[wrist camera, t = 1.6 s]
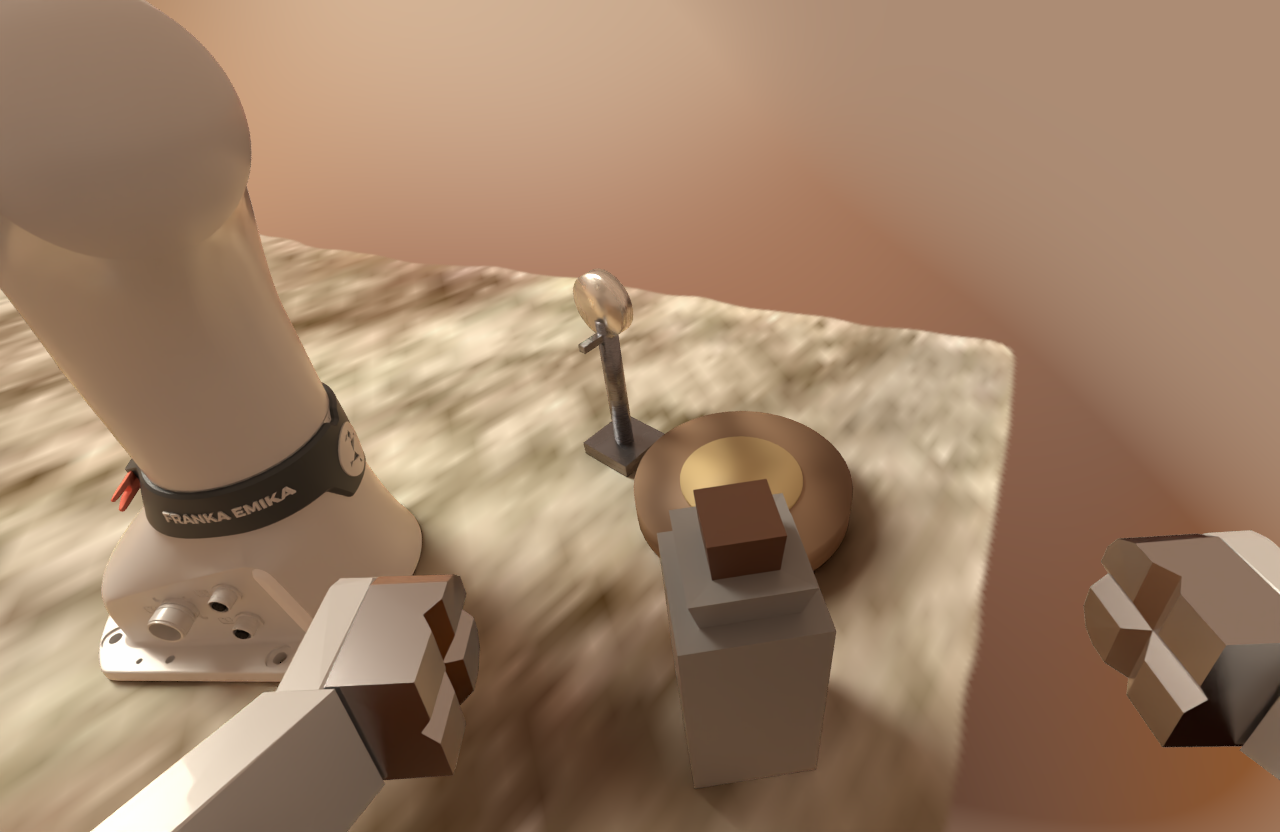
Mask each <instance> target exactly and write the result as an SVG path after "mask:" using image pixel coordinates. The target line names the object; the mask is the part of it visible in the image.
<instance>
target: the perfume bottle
mask: <svg viewBox="0 0 1280 832" xmlns="http://www.w3.org/2000/svg"><path fill="white" fill-rule="evenodd" d="M693 493H694V499H695V504H696V506H695V507H688V508H682V509H675V510H669V515H670V520H671V525H672V530H673V531H668V532H661V533H657V538H658V545H659V553H660V560H661V568H662V575H663V583H664V590H665V597H666V605H667V612H668V620H669V627H670V635H671V642H672V649H673V657H674V664H675V672H676V678H677V685H678V691H679V697H680V703H681V709H682V716H683V722H684V728H685V734H686V740H687V747H688V753H689V759H690V765H691V771H692V778H693V784H694V789H696V788H702V787H709V786H715V785H721V784H727V783H734V782H740V781H746V780H752V779H759V778H765V777H771V776H777V775H783V774H790V773H796V772H802V771H808V770H815V769H816V765H817V758H818V751H819V744H820V738H821V731H822V724H823V717H824V711H825V704H826V697H827V690H828V683H829V677H830V670H831V663H832V656H833V650H834V643H835V636H836V629H835V627H834V624H833V621H832V619H831V616H830V614H829V611H828V608H827V606H826V603H825V601H824V598H823V595H822V593H821V590H820V588H819V585H818V582H817V580H816V577H815V575H814V572H813V569H812V567H811V564H810V562H809V559H808V556H807V554H806V551H805V548H804V546H803V543H802V541H801V538H800V535H799V533H798V530H797V528H796V525H795V522H794V520H793V517H792V515H791V513H790V511H789V509H788V506H787V503H786V501H785V498H784V496H783V493H780V494H773V495H772V492H771V490H770V487H769V484H768V481H767V479H761V480H754V481H748V482H741V483H735V484H728V485H722V486H715V487H709V488H702V489H696V490H693Z"/></svg>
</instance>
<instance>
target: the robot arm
mask: <svg viewBox="0 0 1280 832" xmlns="http://www.w3.org/2000/svg"><path fill="white" fill-rule="evenodd" d="M250 167H251V140H250V132H249V127H248V123H247V119H246V116H245V113H244V109H243V107H242V104H241V102H240V99H239V97H238V95H237V93H236V91H235V89H234V87H233V85H232V83H231V82H230V80H229V78H228V77H227V75H226V73H225V72H224V71H223V69H222V68H221V66H220V65H219V64H218V62H217V61H216V60H215V58H214V57H213V56H212V55H211V54H210V53H209V51H208V50H207V49H206V48H205V47H204V46H203V45H202V44H201V43H200V42H199V41H198V40H197V39H196V38H195V37H194V36H193V35H192V34H191V33H189V32H188V31H187V30H186V29H185V28H183V27H182V26H181V25H180V24H178V23H177V22H176V21H174V20H173V19H172V18H170V17H169V16H167V15H166V14H164V13H163V12H161V11H160V10H159V9H157V8H156V7H154V6H153V5H151V4H150V3H148V2H147V1H145V0H0V289H1V290H2V291H3V292H4V294H5V295H6V296H7V298H8V299H9V300H10V302H11V303H12V304H13V306H14V307H15V308H16V310H17V311H18V312H19V314H20V315H21V316H22V318H23V319H24V320H25V322H26V323H27V324H28V326H29V327H30V328H31V330H32V331H33V332H34V334H35V335H36V337H37V338H38V339H39V341H40V342H41V343H42V345H43V346H44V347H45V349H46V350H47V352H48V353H49V354H50V356H51V357H52V359H53V360H54V361H55V363H56V364H57V366H58V368H59V369H60V370H61V372H62V373H63V374H64V375H65V377H66V378H67V379H68V380H69V382H70V383H71V384H72V385H73V386H74V388H75V389H76V390H77V391H78V393H79V394H80V395H81V396H82V398H83V399H84V400H85V401H86V402H87V404H88V405H89V406H90V407H91V409H92V410H93V411H94V412H95V414H96V415H97V416H98V417H99V418H100V420H101V421H102V422H103V423H104V425H105V426H106V427H107V428H108V430H109V431H110V432H111V433H112V434H113V436H114V437H115V438H116V439H117V441H118V442H119V443H120V444H121V446H122V447H123V448H124V449H125V451H126V452H127V453H128V454H129V455H130V457H131V458H132V459H131V460H130V462H129V463H128V465H127V466H126V468H125V470H126V471H127V472H128V474H127V475H126V477H125V478H124V479H123V481H122V482H121V484H120V485H119V487H118V488H117V490H116V492H115V493H114V495H113V497H112V499H111V501H112V502H115V501H116V500H117V499H118V498H119V497H120V496H121V495H122V493H123V492H124V493H123V495H122V496H121V501H120V506H119V510H120V511H125V510H126V509H127V507H128V506H129V504H130V502H131V501H132V499H133V498H134V496H135V495H136V493H137V492H138V490H139V488H141V494H142V499H143V504H144V506H143V507H142V508H141V510H140V511H139V512H138V514H137V515H136V516H135V518H134V519H133V521H132V522H131V523H130V525H129V526H128V528H127V529H126V531H125V532H124V534H123V535H122V537H121V538H120V540H119V542H118V543H117V545H116V547H115V549H114V551H113V553H112V555H111V557H110V559H109V561H108V563H107V566H106V568H105V572H104V575H103V580H102V587H101V590H102V599H103V602H104V605H105V608H106V610H107V612H108V613H109V617H108V620H107V622H106V625H105V627H104V630H103V634H102V637H101V641H100V646H99V664H100V668H101V671H102V672H103V673H104V675H105V676H106V677H107V678H108V679H110V680H119V681H249V682H280V684H279V686H278V688H277V690H276V691H271V692H263V693H262V694H260V695H259V696H258V697H257V698H255V699H254V700H253V701H252V702H251V703H249V704H248V705H247V706H246V707H244V708H243V709H242V710H241V711H239V712H238V713H237V714H236V715H234V716H233V717H232V718H231V719H229V720H228V721H227V722H226V723H225V724H223V725H222V726H221V727H220V728H218V729H217V730H216V731H215V732H213V733H212V734H211V735H210V736H208V737H207V738H206V739H205V740H203V741H202V742H201V743H200V744H198V745H197V746H196V747H195V748H194V749H192V750H191V751H190V752H189V753H187V754H186V755H185V756H184V757H182V758H181V759H180V760H179V761H177V762H176V763H175V764H174V765H172V766H171V767H170V768H169V769H168V770H166V771H165V772H164V773H163V774H161V775H160V776H159V777H158V778H156V779H155V780H154V781H153V782H151V783H150V784H149V785H148V786H146V787H145V788H144V789H143V790H142V791H140V792H139V793H138V794H137V795H135V796H134V797H133V798H132V799H130V800H129V801H128V802H127V803H125V804H124V805H123V806H122V807H120V808H119V809H118V810H117V811H115V812H114V813H113V814H112V815H111V816H109V817H108V818H107V819H106V820H104V821H103V822H102V823H101V824H99V825H98V826H97V827H96V828H94V829H93V830H92V831H91V832H347V831H348V830H349V829H350V827H351V826H352V825H353V824H354V822H355V821H356V820H357V819H358V817H359V816H360V815H361V814H362V812H363V811H364V810H365V809H366V807H367V806H368V805H369V804H370V802H371V801H372V800H373V799H374V798H375V796H376V795H377V794H378V793H379V791H380V790H381V789H382V788H383V786H384V785H385V783H384V781H383V780H393V779H408V778H422V777H437V776H451V775H454V772H455V768H456V763H457V759H458V755H459V751H460V747H461V743H462V739H463V735H464V730H465V726H466V721H465V719H464V716H463V713H462V710H461V708H460V705H461V704H462V703H463V702H464V701H465V700H466V699H467V698H468V696H469V695H470V694H471V693H472V692H473V691H474V688H475V683H476V679H477V674H478V668H479V651H480V645H479V637H478V630H477V626H476V623H475V620H474V617H472V616H471V615H470V614H468V613H467V612H465V611H464V610H463V605H464V601H465V598H466V592H465V589H464V586H463V583H462V581H461V578H460V576H457V575H454V574H452V575H415V576H412V574H413V573H414V571H415V568H416V566H417V564H418V561H419V558H420V554H421V548H422V534H421V530H420V526H419V524H418V522H417V520H416V518H415V517H414V516H413V514H412V513H411V512H410V511H409V510H407V509H406V508H405V507H404V506H403V505H401V504H400V503H399V502H398V501H397V500H396V499H395V498H394V497H393V496H392V495H391V494H390V492H389V491H388V490H387V489H386V488H385V486H384V485H383V484H382V483H381V482H380V480H379V479H378V478H377V476H376V475H375V473H374V472H373V471H372V469H371V468H370V467H369V465H368V464H367V462H366V459H365V455H364V452H363V450H362V447H361V444H360V441H359V439H358V436H357V434H356V432H355V430H354V428H353V426H352V425H351V423H350V422H349V420H348V418H347V416H346V414H345V412H344V410H343V408H342V407H341V405H340V403H339V401H338V400H337V398H336V396H335V394H334V392H333V391H332V390H331V389H330V387H329V386H327V385H326V384H324V383H322V382H321V381H320V379H319V377H318V375H317V373H316V371H315V369H314V367H313V365H312V363H311V361H310V359H309V357H308V355H307V353H306V351H305V349H304V347H303V345H302V343H301V341H300V339H299V337H298V335H297V333H296V331H295V329H294V327H293V325H292V323H291V321H290V319H289V317H288V315H287V313H286V311H285V309H284V307H283V305H282V303H281V300H280V298H279V296H278V294H277V291H276V288H275V286H274V283H273V280H272V277H271V274H270V271H269V268H268V264H267V261H266V257H265V254H264V250H263V247H262V243H261V239H260V235H259V231H258V227H257V223H256V219H255V216H254V211H253V208H252V204H251V200H250V197H249V193H248V190H247V182H248V178H249V173H250ZM1101 562H1102V564H1103V565H1104V567H1105V569H1106V570H1107V572H1108V574H1107V575H1106V576H1104V577H1103V578H1101V579H1100V580H1099V581H1097V582H1096V583H1095V584H1093V585H1092V586H1091V587H1090V589H1089V592H1088V595H1087V598H1086V601H1085V603H1084V615H1085V626H1086V629H1087V632H1088V634H1089V637H1090V639H1091V642H1092V644H1093V646H1094V647H1095V649H1096V650H1097V652H1098V653H1099V655H1100V656H1101V658H1102V660H1103V661H1104V662H1105V663H1106V664H1108V665H1109V666H1111V667H1112V668H1114V669H1115V670H1117V671H1119V672H1120V673H1122V674H1123V675H1125V676H1126V677H1128V686H1127V696H1128V698H1129V699H1130V701H1131V702H1132V704H1133V705H1134V707H1135V708H1136V709H1137V711H1138V712H1139V714H1140V715H1141V717H1142V718H1143V720H1144V721H1145V723H1146V724H1147V725H1148V727H1149V728H1150V730H1151V731H1152V733H1153V734H1154V736H1155V737H1156V739H1157V740H1158V741H1159V743H1160V744H1161V746H1162V747H1219V746H1242V748H1241V749H1240V751H1242V752H1243V753H1244V754H1246V755H1247V756H1248V757H1250V758H1251V759H1252V760H1254V761H1255V762H1256V763H1258V764H1259V765H1260V766H1262V767H1263V768H1264V769H1266V770H1267V771H1268V772H1270V773H1271V774H1272V775H1274V776H1275V777H1276V778H1278V779H1279V780H1280V548H1279V547H1278V546H1277V545H1275V544H1274V543H1273V542H1272V541H1271V540H1270V539H1268V538H1267V537H1265V536H1263V535H1260V534H1258V533H1256V532H1254V531H1251V530H1250V531H1234V532H1217V533H1205V534H1183V535H1168V536H1153V537H1136V538H1120V539H1117V540H1116V541H1115V542H1113V543H1112V544H1111V545H1109V546H1108V547H1107V549H1106V552H1105V554H1104V556H1103V558H1102V560H1101ZM285 658H286V659H285ZM283 659H285V660H284V661H283V662H282V663H280V662H281V661H282V660H283ZM279 663H280V664H279Z"/></svg>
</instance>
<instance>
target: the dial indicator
mask: <svg viewBox="0 0 1280 832" xmlns="http://www.w3.org/2000/svg"><path fill="white" fill-rule="evenodd" d="M573 295H574V301H575V304H576V307H577V310H578V312H579V314H580V315H581V317H582V319H583V320H584V321H585V323H586V324H587V325H588V326H589V327H590V328H591V329H592V330H593V331H594V332H595V333H596V334H594V335H593V336H591V337H590V338H588V339H586V340H585V341H583V342H582V343H580V344H579V350H580V352H582V353H584V354H586V353H588V352H589V351H591V350H592V349H594V348H595V347H597V346H598V345H599V349H600V355H601V361H602V367H603V372H604V378H605V384H606V390H607V396H608V402H609V407H610V413H611V419H612V422H610V423H609V424H608V425H606V426H605V427H604V428H602V429H601V430H600V431H598V432H597V433H596V434H595V435H593V436H592V437H591V438H589V439H588V440H587V441H585V442H584V447H585V451H586V453H587V454H589V455H590V456H592V457H594V458H595V459H597V460H599V461H600V462H602V463H604V464H606V465H607V466H609V467H611V468H612V469H614V470H616V471H617V472H619V473H621V474H623V475H624V476H626V477H628V476H629V475H630V474H631V473H632V472H634V471H635V470H636V469H637V468H638V466H639V464H640V462H641V459H642V458H643V456H644V455H645V453H646V452H647V450H648V449H649V448H650V447H651V446H652V445H653V444H654V443H655V442H656V441H657V440H658V439H659V438H660V437H662V436H663V435H664V433H662V432H660V431H658V430H656V429H654V428H652V427H650V426H648V425H646V424H644V423H642V422H641V421H639V420H637V419H635V418H633V417H631V416H630V411H629V404H628V397H627V391H626V384H625V377H624V370H623V363H622V357H621V350H620V343H619V336H618V334H620V333H621V332H623V331H624V330H626V329H627V328H629V326H630V325H631V323H632V320H633V307H632V303H631V300H630V297H629V295H628V293H627V291H626V290H625V288H624V287H623V285H622V284H621V283H620V281H619V280H618V279H617V278H616V277H615V276H613V275H612V274H611V273H609V272H607V271H605V270H602V269H593V270H591V271H589V272H588V273H586V274H584V275H582V276H581V277H579V278H578V279H577V280H576V281H575V284H574V287H573Z"/></svg>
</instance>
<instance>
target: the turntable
mask: <svg viewBox="0 0 1280 832" xmlns="http://www.w3.org/2000/svg"><path fill="white" fill-rule="evenodd" d="M761 479H767V481H768V484H769V487H770V490H771V492H772V495H773V494H780V493H783V496H784V498H785V501H786V503H787V506H788V509H789V511H790V513H791V515H792V517H793V520H794V522H795V525H796V528H797V530H798V533H799V535H800V538H801V541H802V543H803V546H804V548H805V551H806V554H807V556H808V559H809V562H810V564H811V567H812V569H813V571H814V570H815V569H817V568H818V567H820V566H821V565H823V564H824V563H825V562H826V561H827V560H828V559H829V558H830V557H831V556H832V555H833V554H834V552H835V551H836V550H837V549H838V547H839V546H840V544H841V542H842V540H843V539H844V537H845V534H846V531H847V528H848V524H849V517H850V510H851V503H852V495H853V486H852V479H851V475H850V471H849V469H848V467H847V464H846V462H845V461H844V459H843V457H842V456H841V454H840V453H839V452H838V451H837V449H836V448H835V447H834V446H833V445H832V444H831V443H830V442H829V441H828V440H826V439H825V438H824V437H823V436H821V435H820V434H819V433H817V432H816V431H814V430H812V429H811V428H809V427H807V426H805V425H803V424H801V423H798V422H796V421H794V420H791V419H788V418H785V417H781V416H777V415H773V414H768V413H761V412H749V411H734V412H723V413H716V414H711V415H706V416H702V417H699V418H696V419H693V420H690V421H688V422H685V423H683V424H681V425H679V426H677V427H675V428H673V429H672V430H670V431H669V432H667V433H666V434H664V435H663V436H662V437H660V438H659V439H658V440H657V441H656V442H655V443H654V444H653V445H652V446H651V447H650V448H649V449H648V450H647V452H646V453H645V455H644V456H643V458H642V459H641V462H640V464H639V466H638V468H637V471H636V475H635V480H634V496H635V503H636V510H637V516H638V521H639V525H640V529H641V531H642V533H643V536H644V538H645V540H646V541H647V543H648V544H649V546H650V547H651V549H652V550H653V551H654V552H655V553H656V554H657V555H658V557H659V558H660V553H659V545H658V538H657V533H661V532H668V531H673V530H672V525H671V520H670V515H669V510H675V509H682V508H688V507H695V506H696V504H695V499H694V493H693V490H696V489H702V488H709V487H715V486H722V485H728V484H735V483H741V482H748V481H754V480H761Z"/></svg>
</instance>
